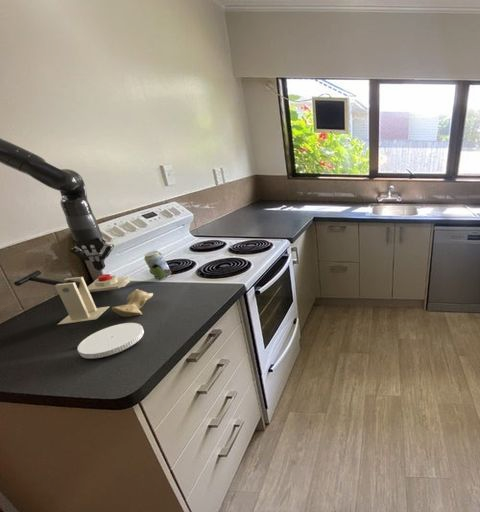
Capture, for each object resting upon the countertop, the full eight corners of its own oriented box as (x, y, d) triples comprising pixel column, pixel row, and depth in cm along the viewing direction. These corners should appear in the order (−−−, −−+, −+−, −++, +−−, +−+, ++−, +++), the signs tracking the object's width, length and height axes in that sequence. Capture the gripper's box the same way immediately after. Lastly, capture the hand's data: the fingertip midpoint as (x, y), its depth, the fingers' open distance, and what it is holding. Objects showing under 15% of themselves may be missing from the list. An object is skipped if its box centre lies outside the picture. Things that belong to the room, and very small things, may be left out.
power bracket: (58, 327, 90) (39, 289, 85) (75, 313, 98) (57, 277, 92) (97, 322, 93) (81, 284, 88) (110, 309, 100) (96, 273, 95)
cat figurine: (107, 307, 90) (130, 281, 100) (111, 321, 94) (133, 295, 104) (137, 311, 92) (157, 285, 102) (141, 325, 96) (159, 299, 106)
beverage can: (174, 277, 124) (166, 251, 119) (153, 283, 118) (144, 256, 114) (170, 273, 127) (162, 248, 123) (150, 278, 122) (141, 252, 118)
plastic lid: (93, 368, 74) (89, 360, 73) (72, 350, 81) (68, 343, 80) (154, 338, 86) (151, 331, 85) (132, 324, 92) (129, 318, 91)
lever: (13, 286, 83) (14, 279, 83) (34, 275, 90) (35, 268, 90) (68, 296, 88) (69, 289, 88) (84, 284, 95) (85, 278, 95)
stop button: (97, 282, 111) (95, 278, 110) (102, 278, 114) (100, 274, 114) (108, 281, 112) (107, 277, 111) (113, 277, 115) (111, 273, 115)
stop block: (84, 295, 109) (80, 286, 108) (98, 284, 117) (94, 276, 115) (119, 291, 112) (116, 282, 111) (130, 281, 120) (127, 272, 119)
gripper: (111, 222, 110) (126, 263, 116) (67, 224, 106) (85, 267, 113) (100, 227, 103) (116, 271, 110) (53, 230, 100) (73, 275, 106)
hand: (100, 269), depth 111 cm, fingers closed
